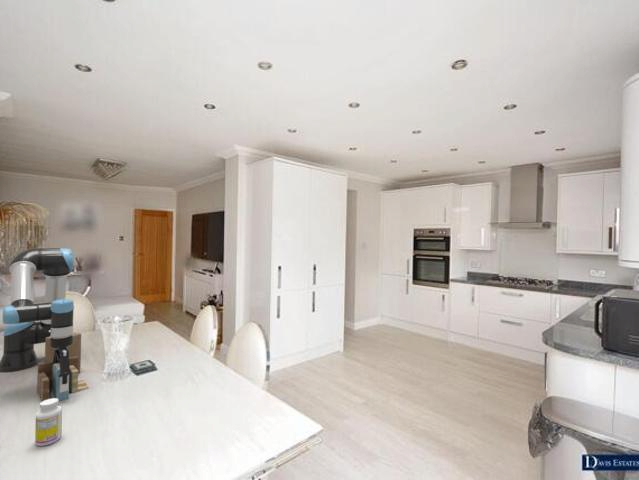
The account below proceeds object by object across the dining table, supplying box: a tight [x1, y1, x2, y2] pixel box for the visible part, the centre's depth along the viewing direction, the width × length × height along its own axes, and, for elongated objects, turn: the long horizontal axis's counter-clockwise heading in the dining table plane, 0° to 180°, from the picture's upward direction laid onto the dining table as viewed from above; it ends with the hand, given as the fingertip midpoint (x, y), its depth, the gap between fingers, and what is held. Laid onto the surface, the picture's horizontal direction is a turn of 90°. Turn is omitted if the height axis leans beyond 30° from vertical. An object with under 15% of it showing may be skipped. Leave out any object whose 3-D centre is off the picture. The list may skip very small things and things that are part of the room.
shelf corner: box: [36, 356, 78, 402], centre depth 137 cm, size 15×14×12 cm
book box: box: [51, 363, 70, 402], centre depth 134 cm, size 10×4×13 cm, turn 49°
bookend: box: [69, 365, 90, 394], centre depth 142 cm, size 10×6×9 cm, turn 49°
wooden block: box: [44, 332, 82, 375], centre depth 154 cm, size 10×10×20 cm
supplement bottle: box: [34, 397, 63, 447], centre depth 104 cm, size 7×7×13 cm
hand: (60, 386), depth 134 cm, fingers open, 13 cm apart
